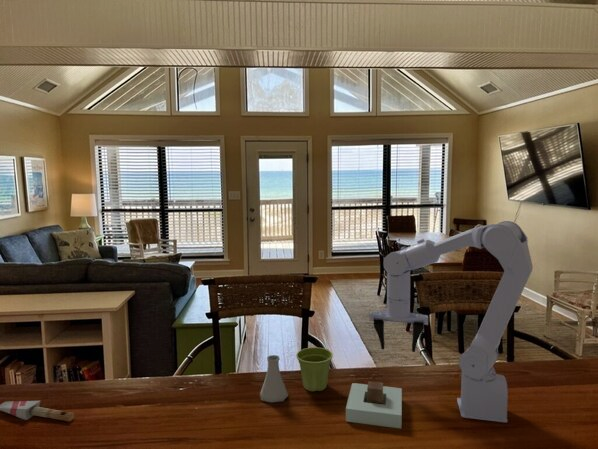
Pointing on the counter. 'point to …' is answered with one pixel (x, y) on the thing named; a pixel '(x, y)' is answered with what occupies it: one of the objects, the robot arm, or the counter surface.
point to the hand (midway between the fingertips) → (398, 349)
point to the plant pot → (314, 367)
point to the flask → (273, 382)
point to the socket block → (375, 407)
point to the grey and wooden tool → (33, 410)
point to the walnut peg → (375, 392)
